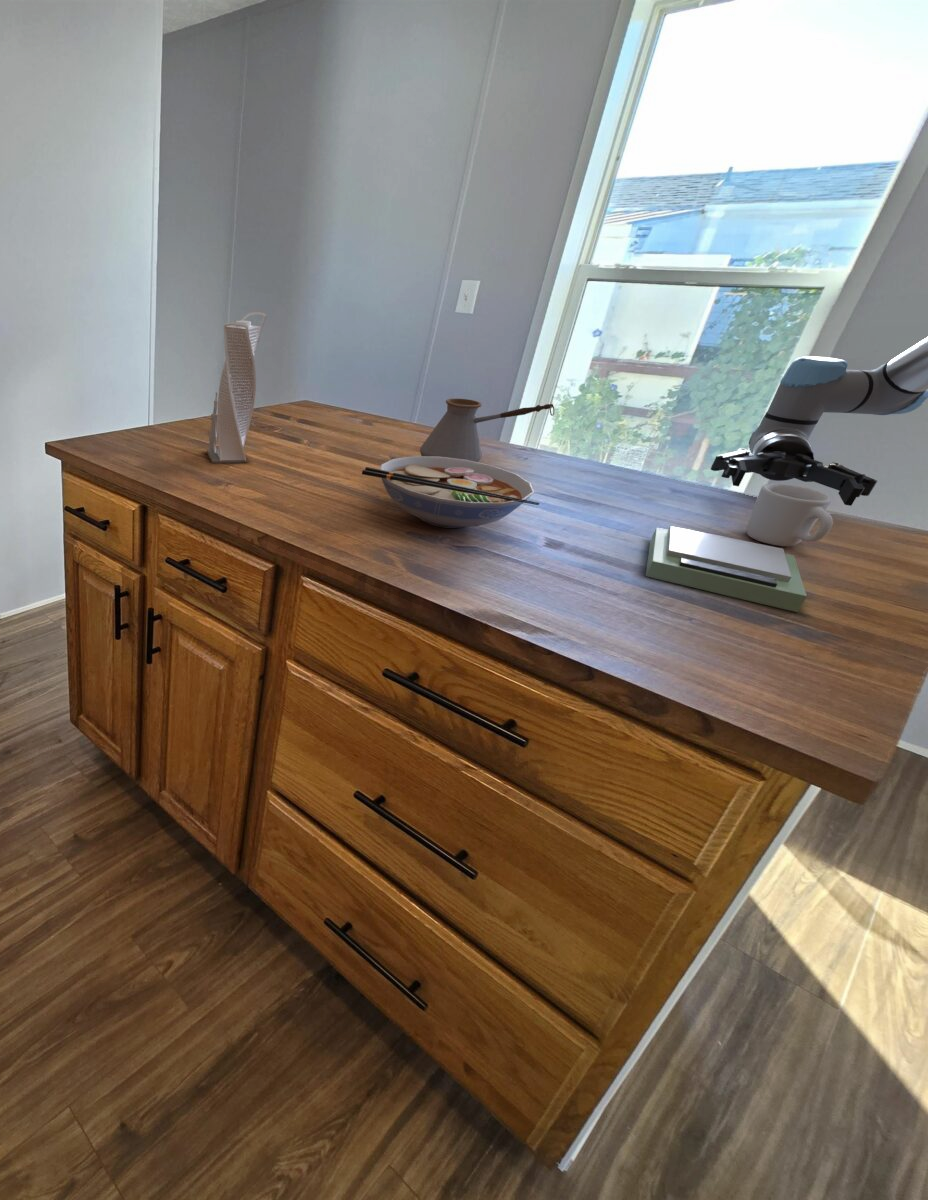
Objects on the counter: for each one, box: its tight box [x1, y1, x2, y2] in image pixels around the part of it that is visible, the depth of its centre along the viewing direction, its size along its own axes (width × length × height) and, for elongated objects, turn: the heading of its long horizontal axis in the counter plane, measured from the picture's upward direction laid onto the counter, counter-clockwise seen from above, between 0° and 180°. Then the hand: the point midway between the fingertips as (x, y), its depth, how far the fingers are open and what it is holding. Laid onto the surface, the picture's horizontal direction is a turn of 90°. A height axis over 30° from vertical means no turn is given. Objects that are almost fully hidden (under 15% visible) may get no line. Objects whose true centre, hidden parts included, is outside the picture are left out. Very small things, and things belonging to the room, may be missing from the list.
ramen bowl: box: [361, 455, 540, 529], centre depth 106 cm, size 25×23×8 cm
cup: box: [745, 483, 834, 547], centre depth 100 cm, size 11×8×8 cm
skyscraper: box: [206, 311, 268, 464], centre depth 129 cm, size 8×8×28 cm
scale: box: [645, 525, 808, 613], centre depth 92 cm, size 16×15×3 cm
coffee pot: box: [419, 398, 555, 462], centre depth 126 cm, size 21×12×15 cm, turn 46°
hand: (794, 487), depth 104 cm, fingers open, 13 cm apart
